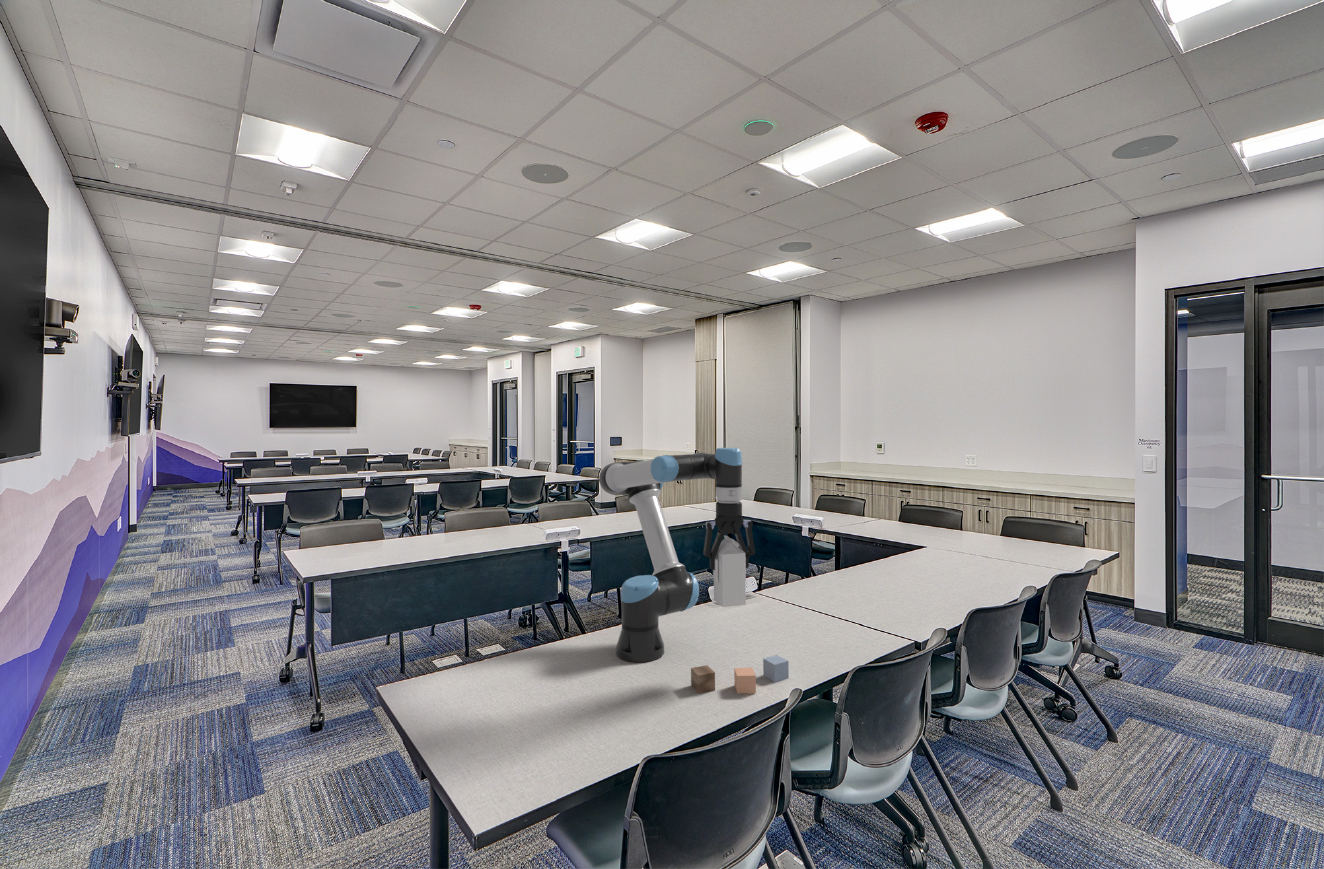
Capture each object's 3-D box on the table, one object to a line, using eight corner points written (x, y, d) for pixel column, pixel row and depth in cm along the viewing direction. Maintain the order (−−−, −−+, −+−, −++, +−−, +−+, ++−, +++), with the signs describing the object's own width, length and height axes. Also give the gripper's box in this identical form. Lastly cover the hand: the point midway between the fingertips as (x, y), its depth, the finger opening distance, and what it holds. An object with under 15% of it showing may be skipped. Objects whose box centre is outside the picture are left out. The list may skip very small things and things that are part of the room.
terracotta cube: (737, 694, 154) (737, 676, 154) (734, 686, 159) (734, 668, 159) (755, 694, 154) (755, 675, 154) (752, 685, 159) (752, 667, 159)
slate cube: (774, 682, 161) (774, 664, 161) (763, 675, 165) (763, 658, 165) (788, 678, 163) (788, 661, 163) (776, 671, 168) (776, 654, 168)
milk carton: (722, 607, 163) (722, 540, 162) (713, 600, 170) (713, 536, 169) (745, 605, 165) (745, 539, 164) (736, 598, 171) (735, 534, 171)
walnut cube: (698, 693, 155) (698, 675, 155) (691, 685, 160) (690, 668, 159) (715, 690, 156) (715, 672, 156) (707, 683, 161) (707, 665, 161)
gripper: (697, 504, 161) (697, 585, 162) (767, 502, 164) (767, 581, 165) (691, 500, 169) (692, 578, 169) (758, 498, 172) (759, 574, 172)
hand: (729, 579), depth 167 cm, fingers closed on milk carton, 7 cm apart
